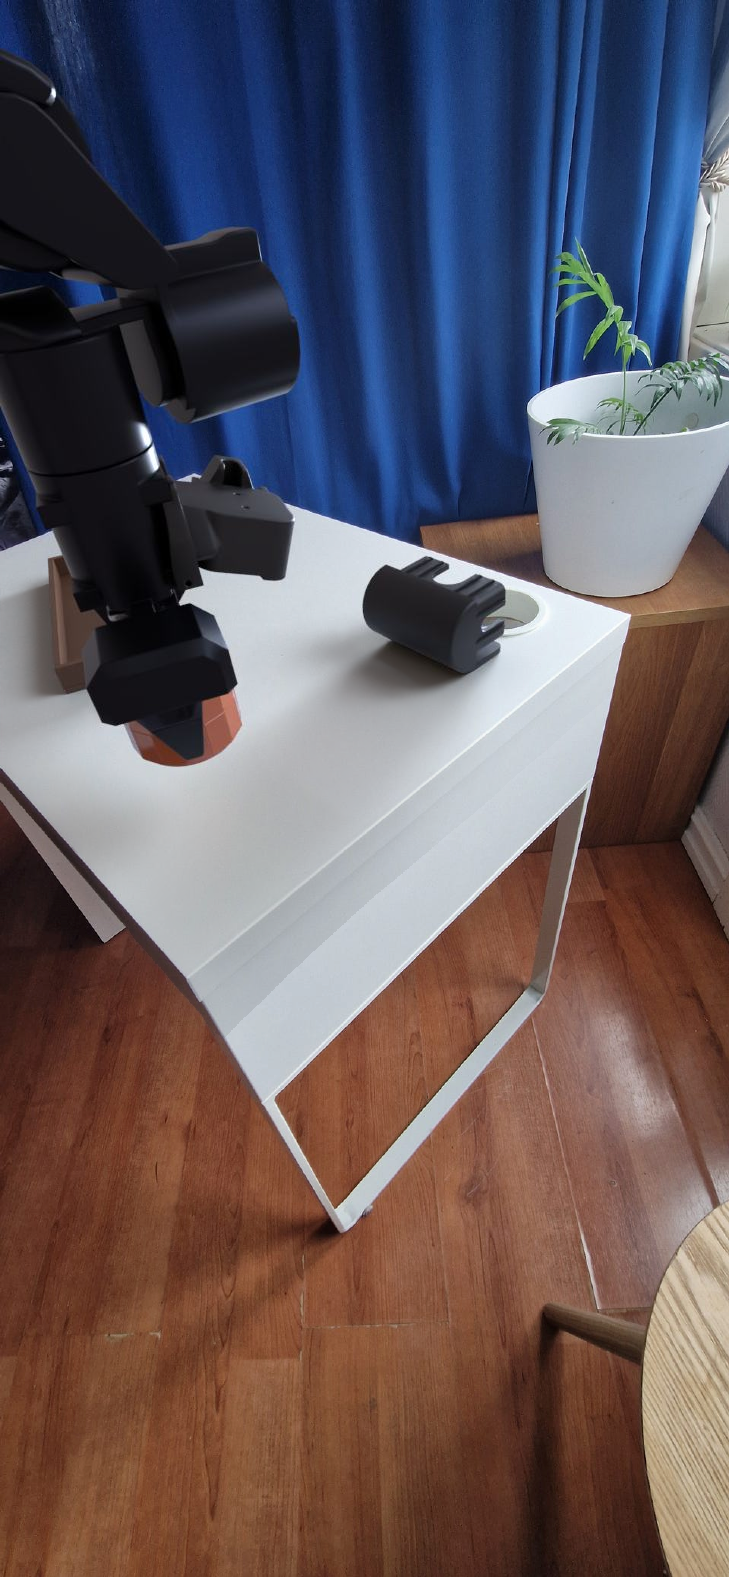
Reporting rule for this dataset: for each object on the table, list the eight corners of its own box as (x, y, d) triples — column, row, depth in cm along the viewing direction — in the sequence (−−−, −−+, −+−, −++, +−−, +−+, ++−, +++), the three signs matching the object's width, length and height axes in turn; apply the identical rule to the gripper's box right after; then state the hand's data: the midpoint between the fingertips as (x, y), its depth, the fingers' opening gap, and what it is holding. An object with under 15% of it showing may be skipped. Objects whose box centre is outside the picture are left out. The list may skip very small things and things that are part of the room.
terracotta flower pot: (164, 789, 40) (136, 719, 37) (119, 734, 44) (90, 667, 41) (263, 737, 42) (245, 668, 39) (212, 690, 47) (191, 624, 43)
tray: (189, 660, 63) (181, 634, 61) (65, 694, 61) (53, 669, 59) (154, 556, 80) (147, 534, 78) (56, 580, 78) (47, 558, 76)
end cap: (365, 649, 62) (357, 578, 57) (421, 616, 65) (417, 545, 60) (450, 692, 56) (449, 616, 51) (507, 653, 59) (511, 578, 54)
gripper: (318, 477, 27) (361, 777, 37) (222, 375, 40) (274, 618, 51) (19, 547, 25) (154, 843, 35) (21, 416, 38) (120, 660, 49)
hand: (185, 722), depth 43 cm, fingers closed on terracotta flower pot, 7 cm apart
